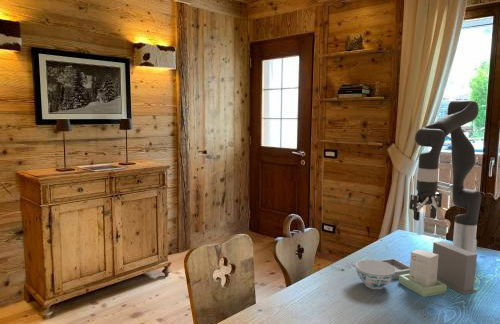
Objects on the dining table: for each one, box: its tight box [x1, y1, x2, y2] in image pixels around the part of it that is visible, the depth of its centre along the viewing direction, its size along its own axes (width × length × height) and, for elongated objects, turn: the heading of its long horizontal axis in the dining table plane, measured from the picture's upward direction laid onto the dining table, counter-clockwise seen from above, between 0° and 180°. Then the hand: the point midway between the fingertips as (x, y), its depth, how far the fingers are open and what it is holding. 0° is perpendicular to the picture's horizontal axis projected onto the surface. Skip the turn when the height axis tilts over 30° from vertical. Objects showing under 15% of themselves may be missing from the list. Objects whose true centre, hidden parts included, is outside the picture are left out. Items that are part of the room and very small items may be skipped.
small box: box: [409, 248, 438, 288], centre depth 150 cm, size 8×6×13 cm
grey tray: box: [377, 257, 410, 280], centre depth 165 cm, size 11×13×3 cm
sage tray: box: [398, 274, 448, 298], centre depth 151 cm, size 11×13×3 cm
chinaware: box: [355, 259, 396, 290], centre depth 151 cm, size 15×15×8 cm
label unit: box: [432, 240, 478, 295], centre depth 154 cm, size 7×17×15 cm, turn 20°
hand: (424, 219), depth 155 cm, fingers open, 8 cm apart
